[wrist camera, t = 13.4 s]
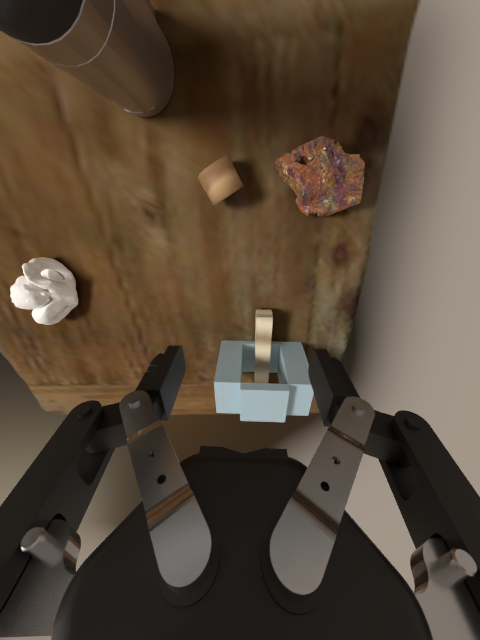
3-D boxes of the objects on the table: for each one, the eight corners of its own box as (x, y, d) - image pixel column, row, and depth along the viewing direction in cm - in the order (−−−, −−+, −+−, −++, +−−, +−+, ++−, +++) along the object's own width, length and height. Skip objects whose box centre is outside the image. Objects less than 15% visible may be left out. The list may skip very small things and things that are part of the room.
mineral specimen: (278, 227, 34) (280, 204, 28) (272, 179, 35) (273, 145, 28) (359, 214, 33) (382, 186, 26) (352, 164, 33) (373, 123, 26)
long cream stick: (255, 309, 43) (256, 317, 40) (271, 309, 42) (272, 317, 40) (253, 389, 54) (253, 400, 51) (266, 390, 54) (267, 400, 51)
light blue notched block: (221, 340, 48) (212, 388, 36) (301, 342, 47) (317, 391, 36) (223, 368, 52) (215, 419, 40) (296, 370, 51) (310, 423, 40)
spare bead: (201, 178, 33) (194, 177, 29) (230, 157, 31) (226, 152, 27) (216, 204, 35) (211, 207, 30) (244, 186, 33) (243, 185, 29)
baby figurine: (65, 322, 47) (6, 328, 40) (60, 261, 46) (-3, 255, 38) (87, 326, 43) (25, 334, 35) (82, 259, 41) (15, 252, 33)
